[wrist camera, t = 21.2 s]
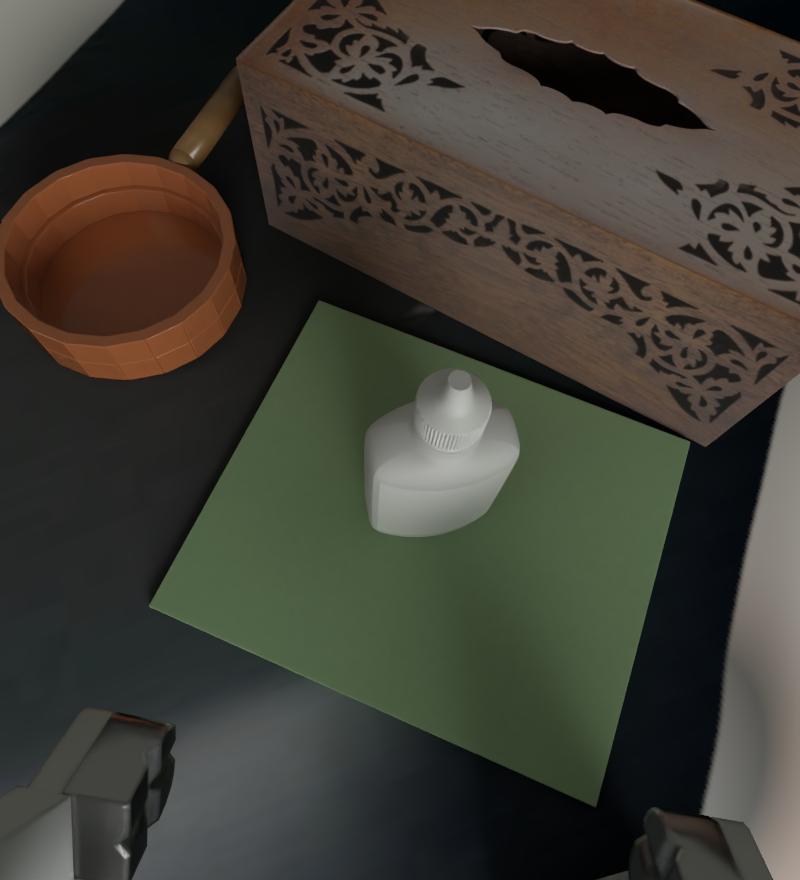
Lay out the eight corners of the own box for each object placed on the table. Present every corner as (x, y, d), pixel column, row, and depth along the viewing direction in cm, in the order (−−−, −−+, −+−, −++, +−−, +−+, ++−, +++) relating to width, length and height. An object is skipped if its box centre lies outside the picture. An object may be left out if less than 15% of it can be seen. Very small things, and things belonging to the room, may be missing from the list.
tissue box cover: (268, 224, 36) (235, 58, 27) (399, 69, 41) (408, -114, 32) (705, 446, 32) (840, 341, 23) (789, 245, 37) (928, 93, 28)
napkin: (593, 806, 26) (596, 807, 26) (150, 607, 28) (148, 606, 28) (687, 444, 32) (690, 441, 32) (319, 303, 35) (318, 299, 34)
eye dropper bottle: (471, 566, 29) (533, 477, 18) (352, 524, 30) (343, 413, 19) (497, 478, 31) (569, 348, 20) (385, 441, 31) (394, 293, 20)
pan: (179, 415, 32) (157, 382, 29) (-19, 333, 33) (-61, 293, 30) (282, 244, 36) (274, 198, 33) (103, 177, 37) (78, 127, 34)
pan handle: (192, 186, 34) (185, 164, 33) (167, 177, 34) (159, 154, 33) (262, 88, 37) (258, 64, 36) (238, 80, 37) (233, 55, 36)
